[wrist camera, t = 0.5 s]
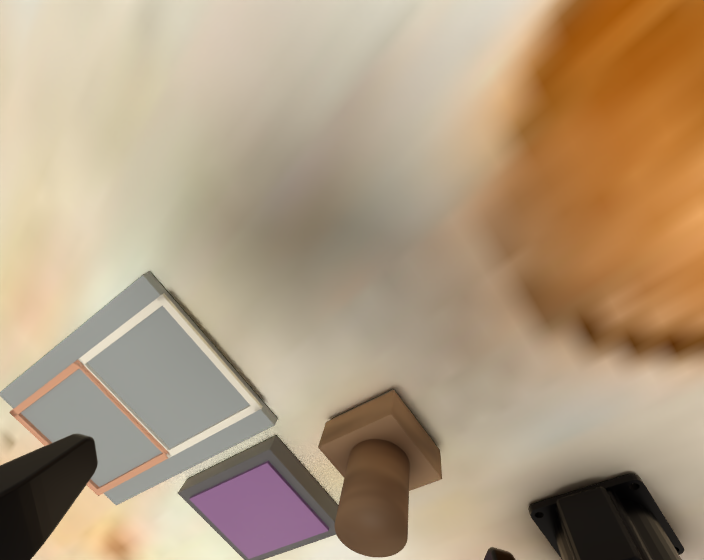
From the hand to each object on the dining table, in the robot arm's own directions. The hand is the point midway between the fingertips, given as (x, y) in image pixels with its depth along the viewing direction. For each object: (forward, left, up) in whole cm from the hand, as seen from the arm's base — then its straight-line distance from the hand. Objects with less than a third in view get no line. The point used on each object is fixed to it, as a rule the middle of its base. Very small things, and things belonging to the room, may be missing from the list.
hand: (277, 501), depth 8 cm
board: (+1, +19, -13) cm, 23 cm away
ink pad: (-10, +16, -13) cm, 22 cm away
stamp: (-9, +5, -13) cm, 16 cm away
